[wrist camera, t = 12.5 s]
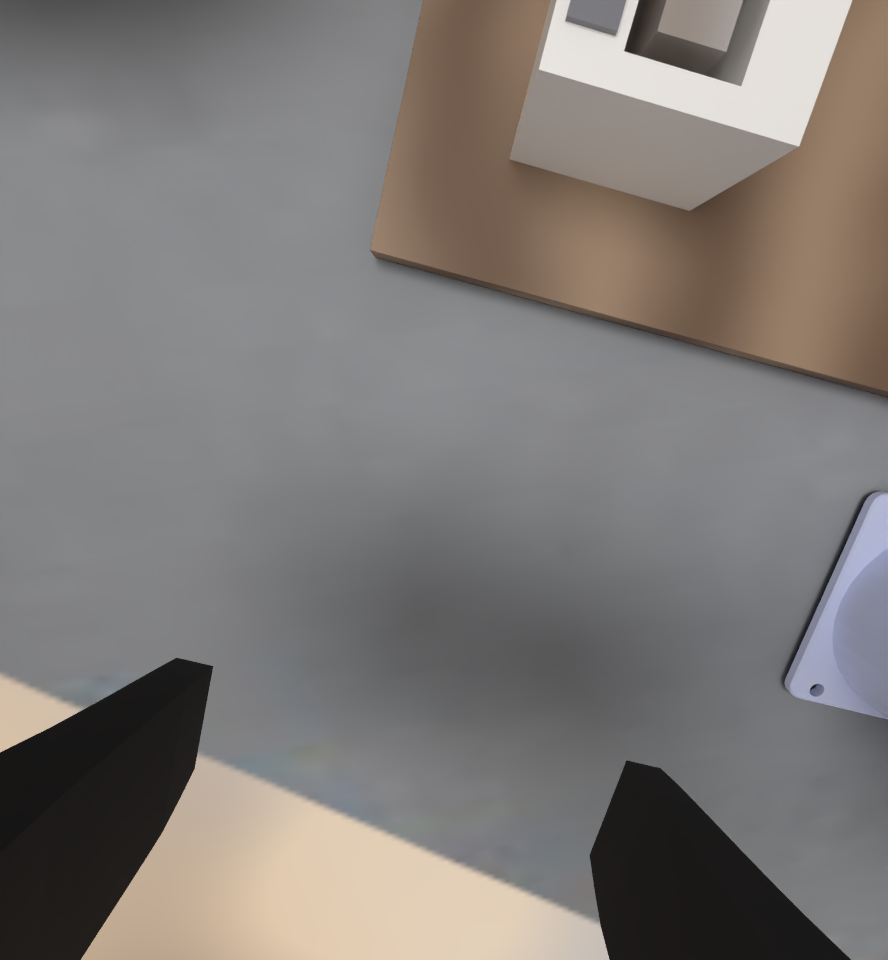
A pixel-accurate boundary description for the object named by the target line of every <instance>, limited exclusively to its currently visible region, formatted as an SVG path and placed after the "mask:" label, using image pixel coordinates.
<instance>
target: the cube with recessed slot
mask: <svg viewBox="0 0 888 960" xmlns="http://www.w3.org/2000/svg"><path fill="white" fill-rule="evenodd" d="M638 1H639V0H550V4H549V8H548V11H547V15H546V19H545V23H544V27H543V31H542V35H541V39H540V43H539V46H538V50H537V54H536V58H535V62H534V66H533V70H532V74H531V77H530V81H529V85H528V89H527V93H526V97H525V101H524V105H523V108H522V112H521V116H520V120H519V124H518V128H517V132H516V136H515V140H514V143H513V147H512V151H511V155H510V160H513V161H517V162H520V163H524V164H527V165H531V166H534V167H538V168H541V169H545V170H548V171H552V172H555V173H559V174H562V175H566V176H569V177H573V178H576V179H580V180H583V181H587V182H590V183H593V184H597V185H600V186H604V187H607V188H611V189H614V190H618V191H621V192H625V193H628V194H632V195H635V196H639V197H642V198H646V199H649V200H653V201H656V202H660V203H663V204H667V205H670V206H674V207H677V208H681V209H684V210H688V211H690V210H692V209H694V208H695V207H697V206H699V205H701V204H702V203H704V202H706V201H707V200H709V199H711V198H712V197H714V196H716V195H718V194H719V193H721V192H723V191H724V190H726V189H728V188H730V187H731V186H733V185H735V184H736V183H738V182H740V181H741V180H743V179H745V178H747V177H748V176H750V175H752V174H753V173H755V172H757V171H758V170H760V169H762V168H764V167H765V166H767V165H769V164H770V163H772V162H774V161H775V160H777V159H779V158H781V157H782V156H784V155H786V154H787V153H789V152H791V151H792V150H794V149H796V148H798V147H799V145H800V143H801V140H802V137H803V134H804V132H805V129H806V126H807V124H808V121H809V118H810V115H811V113H812V110H813V107H814V104H815V102H816V99H817V96H818V93H819V91H820V88H821V85H822V82H823V80H824V77H825V74H826V71H827V69H828V66H829V63H830V60H831V58H832V55H833V52H834V49H835V47H836V44H837V41H838V38H839V36H840V33H841V30H842V27H843V25H844V22H845V19H846V17H847V14H848V11H849V8H850V6H851V3H852V0H743V2H742V6H741V9H740V12H739V15H738V18H737V21H736V24H735V27H734V30H733V33H732V36H731V39H730V42H729V45H728V48H727V52H726V53H725V54H724V55H723V56H722V57H721V58H720V59H719V61H718V62H717V63H716V64H715V65H714V66H713V67H712V68H711V69H710V70H709V71H708V72H707V73H706V75H701V74H698V73H695V72H691V71H688V70H685V69H681V68H678V67H675V66H671V65H668V64H665V63H661V62H658V61H655V60H651V59H648V58H645V57H642V56H638V55H635V54H632V53H628V52H625V51H624V50H625V46H626V43H627V39H628V36H629V32H630V29H631V25H632V22H633V18H634V15H635V11H636V8H637V5H638Z"/></svg>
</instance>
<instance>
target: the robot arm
mask: <svg viewBox="0 0 888 960" xmlns="http://www.w3.org/2000/svg"><path fill="white" fill-rule="evenodd" d="M212 669H213V666H210V665H206V664H201V663H197V662H193V661H188V660H184V659H179V658H176V659H174V660H172V661H170V662H168V663H166V664H164V665H163V666H161V667H159V668H157V669H155V670H154V671H152V672H150V673H148V674H146V675H145V676H143V677H141V678H139V679H138V680H136V681H134V682H132V683H131V684H129V685H127V686H125V687H124V688H122V689H120V690H118V691H116V692H115V693H113V694H111V695H109V696H108V697H106V698H104V699H102V700H100V701H99V702H97V703H95V704H93V705H91V706H89V707H88V708H86V709H84V710H82V711H80V712H78V713H77V714H75V715H73V716H71V717H69V718H67V719H65V720H64V721H62V722H60V723H58V724H56V725H54V726H53V727H51V728H49V729H47V730H45V731H43V732H41V733H39V734H37V735H35V736H33V737H31V738H29V739H27V740H25V741H23V742H21V743H19V744H17V745H14V746H12V747H10V748H9V749H7V750H5V751H2V752H1V753H0V960H81V958H82V956H83V955H84V954H85V952H86V951H87V949H88V947H89V946H90V944H91V943H92V941H93V940H94V938H95V937H96V935H97V933H98V932H99V930H100V929H101V927H102V926H103V924H104V923H105V921H106V919H107V918H108V916H109V915H110V913H111V912H112V910H113V909H114V907H115V906H116V904H117V902H118V901H119V899H120V898H121V896H122V895H123V893H124V892H125V890H126V888H127V887H128V886H129V884H130V882H131V881H132V879H133V878H134V876H135V875H136V873H137V871H138V870H139V868H140V866H141V865H142V864H143V862H144V860H145V859H146V857H147V856H148V854H149V853H150V851H151V850H152V848H153V846H154V845H155V843H156V842H157V840H158V838H159V837H160V835H161V833H162V832H163V830H164V828H165V826H166V824H167V822H168V820H169V818H170V816H171V814H172V813H173V811H174V809H175V806H176V805H177V803H178V801H179V799H180V797H181V795H182V793H183V791H184V789H185V787H186V785H187V783H188V781H189V779H190V777H191V775H192V773H193V771H194V769H195V763H196V758H197V752H198V746H199V741H200V735H201V730H202V724H203V719H204V713H205V708H206V702H207V697H208V691H209V686H210V680H211V675H212ZM815 684H817V686H816V687H815V688H814V689H812V690H810V688H811V687H812V686H813V685H815ZM785 687H786V689H787V690H788V691H789V692H790V693H791V694H792V695H793V696H794V697H797V698H800V699H804V700H808V701H812V702H816V703H821V704H825V705H829V706H833V707H837V708H841V709H846V710H850V711H854V712H858V713H862V714H867V715H871V716H875V717H879V718H883V719H888V492H884V491H878V492H875V493H873V494H871V495H870V496H869V497H868V498H867V499H866V501H865V503H864V505H863V507H862V509H861V511H860V514H859V516H858V518H857V520H856V523H855V525H854V527H853V529H852V532H851V534H850V536H849V538H848V540H847V543H846V545H845V547H844V549H843V552H842V554H841V556H840V558H839V561H838V563H837V565H836V567H835V569H834V572H833V574H832V576H831V578H830V581H829V583H828V585H827V587H826V590H825V592H824V594H823V596H822V598H821V601H820V603H819V605H818V607H817V610H816V612H815V614H814V616H813V619H812V621H811V623H810V625H809V627H808V630H807V632H806V634H805V636H804V639H803V641H802V643H801V645H800V647H799V650H798V652H797V654H796V656H795V659H794V661H793V663H792V665H791V668H790V670H789V672H788V674H787V676H786V679H785ZM590 860H591V867H592V874H593V881H594V888H595V895H596V901H597V906H598V912H599V918H600V924H601V928H602V932H603V936H604V939H605V944H606V947H607V951H608V955H609V959H610V960H851V959H850V958H849V957H848V956H847V955H845V954H844V953H843V952H842V951H841V950H840V949H839V948H838V947H837V946H836V945H835V944H834V943H833V942H832V941H831V940H830V939H829V938H828V937H827V936H826V935H825V934H824V933H823V932H822V931H821V930H820V929H818V928H817V927H816V926H815V925H814V924H813V923H812V922H811V921H810V920H809V919H808V918H807V917H806V916H805V915H804V914H803V913H802V912H801V911H800V910H799V909H798V908H797V907H796V906H795V905H794V904H793V903H792V902H791V901H790V900H789V899H788V898H787V897H786V896H785V895H784V894H783V893H782V892H781V891H780V890H779V889H778V888H777V887H776V886H775V885H774V884H773V883H772V882H771V881H770V880H769V879H768V878H767V877H766V876H765V875H764V874H763V873H762V872H761V870H760V869H759V868H758V867H757V866H756V865H755V864H754V863H753V862H752V861H751V860H750V859H749V858H748V857H747V856H746V855H745V854H744V853H743V852H742V851H741V850H740V849H739V848H738V847H737V846H736V845H735V843H734V842H733V841H732V840H731V839H730V838H729V837H728V836H727V835H726V834H725V833H724V832H723V831H722V830H721V829H720V828H719V827H718V826H717V825H716V824H715V823H714V821H713V820H712V819H711V818H710V817H709V816H708V815H707V814H706V813H705V812H704V811H703V810H702V809H701V808H700V807H699V806H698V805H697V804H696V803H695V802H694V801H693V800H692V799H691V798H690V797H689V796H688V795H687V793H686V792H685V791H684V790H683V789H682V788H681V787H680V786H679V785H678V784H676V783H675V782H674V781H673V780H672V779H671V778H670V777H669V776H668V775H667V774H666V773H665V772H664V771H663V770H662V769H660V768H657V767H652V766H648V765H644V764H639V763H635V762H630V761H626V763H625V766H624V769H623V771H622V774H621V776H620V779H619V781H618V784H617V787H616V789H615V792H614V794H613V797H612V799H611V802H610V805H609V807H608V810H607V812H606V815H605V817H604V820H603V822H602V825H601V828H600V830H599V833H598V835H597V838H596V840H595V843H594V846H593V848H592V851H591V853H590Z"/></svg>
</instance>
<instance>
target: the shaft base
mask: <svg viewBox="0 0 888 960" xmlns="http://www.w3.org/2000/svg"><path fill="white" fill-rule="evenodd" d="M742 2H743V0H639V1H638V5H637V8H636V11H635V15H634V18H633V22H632V25H631V29H630V32H629V36H628V39H627V43H626V46H625V50H624V51H625V52H628V53H632V54H635V55H638V56H642V57H645V58H648V59H651V60H655V61H658V62H661V63H665V64H668V65H671V66H675V67H678V68H681V69H685V70H688V71H691V72H695V73H698V74H701V75H706V73H707V72H708V71H709V70H710V69H711V68H712V67H713V66H714V65H715V64H716V63H717V62H718V61H719V59H720V58H721V57H722V56H723V55H724V54H725V53H726V52H727V48H728V45H729V42H730V39H731V36H732V33H733V30H734V27H735V24H736V21H737V18H738V15H739V12H740V9H741V6H742ZM549 4H550V0H423V4H422V8H421V13H420V18H419V22H418V27H417V32H416V36H415V41H414V46H413V51H412V55H411V60H410V65H409V69H408V74H407V79H406V83H405V88H404V93H403V98H402V102H401V107H400V112H399V116H398V121H397V126H396V130H395V135H394V140H393V144H392V149H391V154H390V159H389V163H388V168H387V173H386V177H385V182H384V187H383V191H382V196H381V201H380V206H379V210H378V215H377V220H376V224H375V229H374V234H373V238H372V243H371V248H370V251H371V252H372V253H373V255H374V256H375V257H377V258H380V259H384V260H388V261H391V262H395V263H399V264H402V265H406V266H410V267H413V268H417V269H421V270H424V271H428V272H432V273H435V274H439V275H443V276H446V277H450V278H454V279H457V280H461V281H465V282H468V283H472V284H476V285H479V286H483V287H487V288H490V289H494V290H498V291H501V292H505V293H509V294H512V295H516V296H520V297H523V298H527V299H530V300H534V301H538V302H541V303H545V304H549V305H552V306H556V307H560V308H563V309H567V310H571V311H574V312H578V313H582V314H585V315H589V316H593V317H596V318H600V319H604V320H607V321H611V322H615V323H618V324H622V325H626V326H629V327H633V328H637V329H640V330H644V331H648V332H651V333H655V334H659V335H662V336H666V337H670V338H673V339H677V340H681V341H684V342H688V343H692V344H695V345H699V346H703V347H706V348H710V349H714V350H717V351H721V352H725V353H728V354H732V355H736V356H739V357H743V358H747V359H750V360H754V361H758V362H761V363H765V364H769V365H772V366H776V367H780V368H783V369H787V370H791V371H794V372H798V373H802V374H805V375H809V376H813V377H816V378H820V379H824V380H827V381H831V382H835V383H838V384H842V385H846V386H849V387H853V388H857V389H860V390H864V391H867V392H871V393H875V394H878V395H882V396H886V397H888V0H852V3H851V6H850V8H849V11H848V14H847V17H846V19H845V22H844V25H843V27H842V30H841V33H840V36H839V38H838V41H837V44H836V47H835V49H834V52H833V55H832V58H831V60H830V63H829V66H828V69H827V71H826V74H825V77H824V80H823V82H822V85H821V88H820V91H819V93H818V96H817V99H816V102H815V104H814V107H813V110H812V113H811V115H810V118H809V121H808V124H807V126H806V129H805V132H804V134H803V137H802V140H801V143H800V145H799V147H798V148H796V149H794V150H792V151H791V152H789V153H787V154H786V155H784V156H782V157H781V158H779V159H777V160H775V161H774V162H772V163H770V164H769V165H767V166H765V167H764V168H762V169H760V170H758V171H757V172H755V173H753V174H752V175H750V176H748V177H747V178H745V179H743V180H741V181H740V182H738V183H736V184H735V185H733V186H731V187H730V188H728V189H726V190H724V191H723V192H721V193H719V194H718V195H716V196H714V197H712V198H711V199H709V200H707V201H706V202H704V203H702V204H701V205H699V206H697V207H695V208H694V209H692V210H690V211H688V210H684V209H681V208H677V207H674V206H670V205H667V204H663V203H660V202H656V201H653V200H649V199H646V198H642V197H639V196H635V195H632V194H628V193H625V192H621V191H618V190H614V189H611V188H607V187H604V186H600V185H597V184H593V183H590V182H587V181H583V180H580V179H576V178H573V177H569V176H566V175H562V174H559V173H555V172H552V171H548V170H545V169H541V168H538V167H534V166H531V165H527V164H524V163H520V162H517V161H513V160H510V155H511V151H512V147H513V143H514V140H515V136H516V132H517V128H518V124H519V120H520V116H521V112H522V108H523V105H524V101H525V97H526V93H527V89H528V85H529V81H530V77H531V74H532V70H533V66H534V62H535V58H536V54H537V50H538V46H539V43H540V39H541V35H542V31H543V27H544V23H545V19H546V15H547V11H548V8H549Z"/></svg>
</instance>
